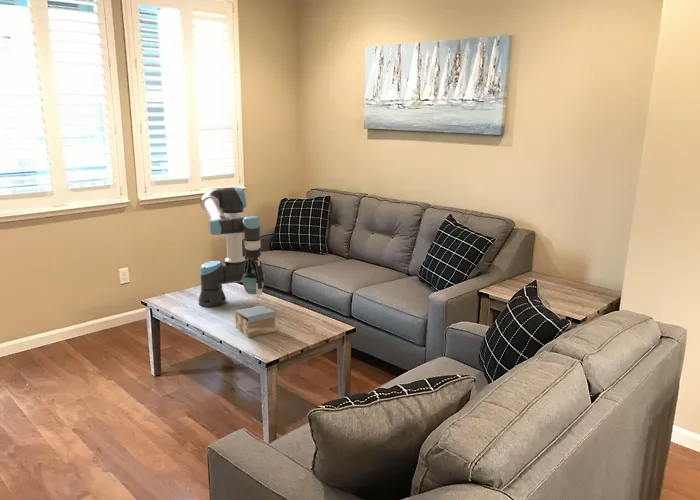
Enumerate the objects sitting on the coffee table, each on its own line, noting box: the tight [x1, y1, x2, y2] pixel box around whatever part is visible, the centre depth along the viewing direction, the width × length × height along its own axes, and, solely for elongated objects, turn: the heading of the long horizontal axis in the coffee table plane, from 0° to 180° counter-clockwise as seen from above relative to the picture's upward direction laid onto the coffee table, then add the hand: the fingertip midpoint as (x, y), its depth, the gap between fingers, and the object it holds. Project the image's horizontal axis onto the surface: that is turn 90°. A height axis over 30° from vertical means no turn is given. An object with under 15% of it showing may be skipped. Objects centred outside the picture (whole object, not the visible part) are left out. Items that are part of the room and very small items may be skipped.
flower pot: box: [242, 272, 266, 296], centre depth 275 cm, size 9×9×9 cm
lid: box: [234, 305, 277, 322], centre depth 278 cm, size 17×14×2 cm
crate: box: [234, 312, 276, 339], centre depth 279 cm, size 16×14×8 cm
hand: (254, 291), depth 276 cm, fingers closed on flower pot, 11 cm apart
